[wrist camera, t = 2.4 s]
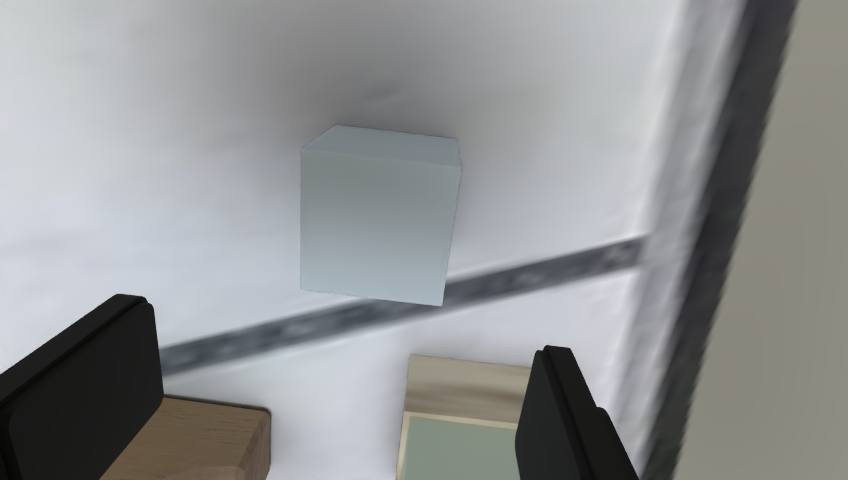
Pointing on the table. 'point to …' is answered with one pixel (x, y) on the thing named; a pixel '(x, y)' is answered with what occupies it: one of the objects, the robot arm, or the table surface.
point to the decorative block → (197, 444)
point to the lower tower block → (462, 394)
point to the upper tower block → (458, 451)
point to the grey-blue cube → (378, 213)
